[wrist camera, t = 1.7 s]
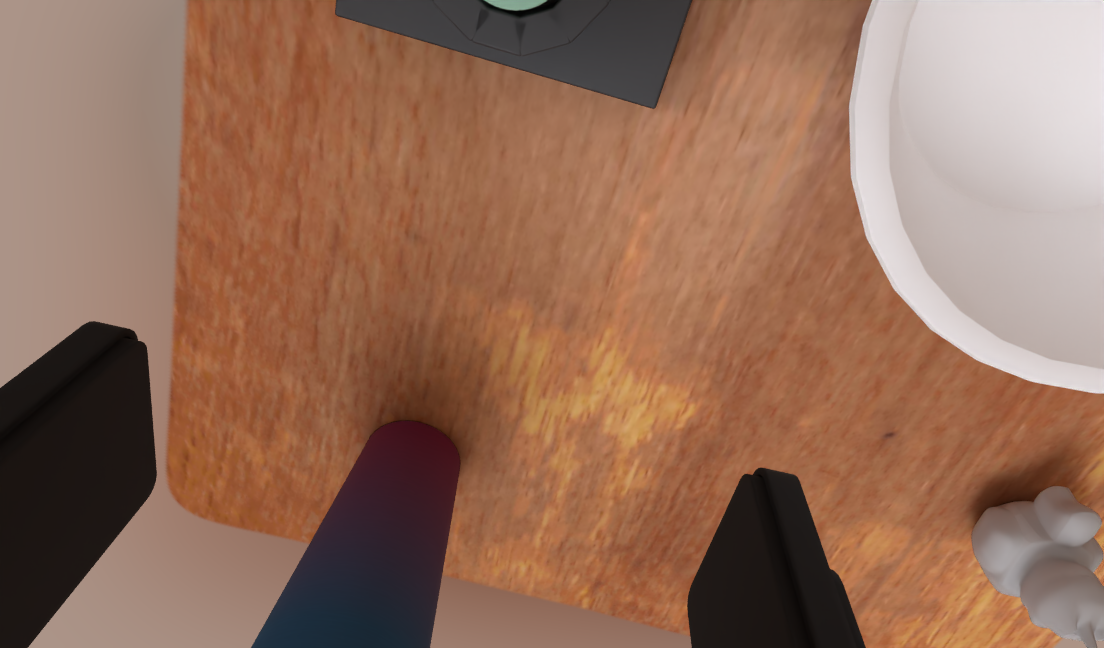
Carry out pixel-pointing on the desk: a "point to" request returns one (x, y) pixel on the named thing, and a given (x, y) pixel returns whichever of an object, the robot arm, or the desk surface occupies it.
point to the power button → (516, 4)
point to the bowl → (989, 175)
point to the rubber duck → (1046, 561)
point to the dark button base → (548, 37)
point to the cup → (375, 550)
